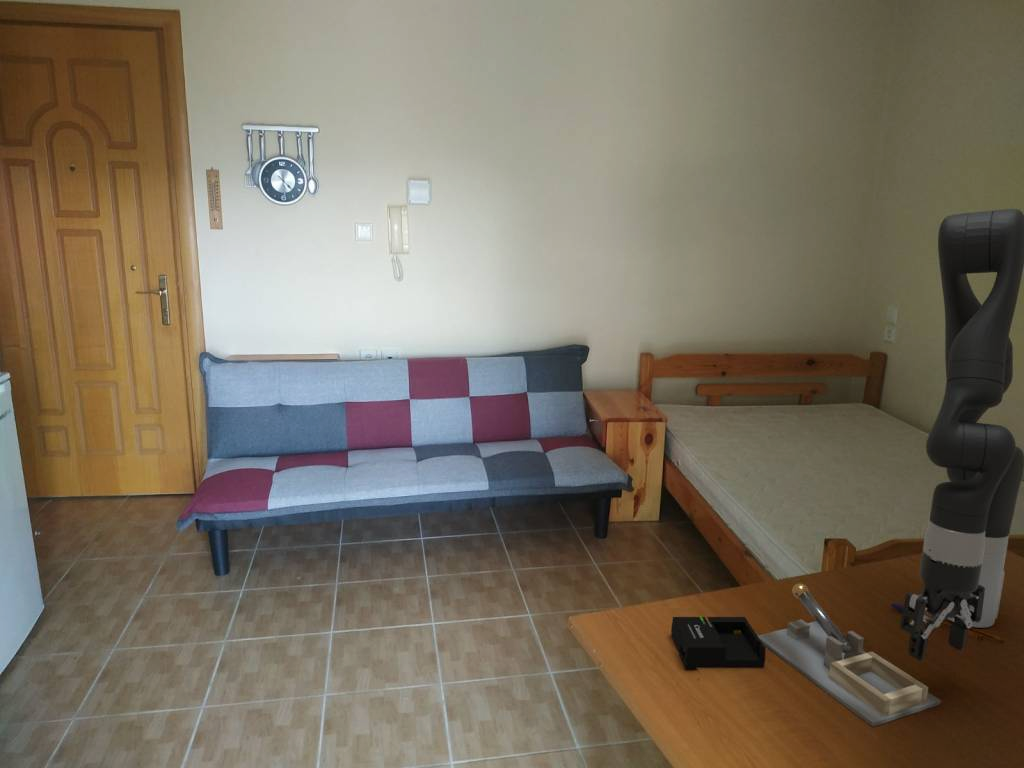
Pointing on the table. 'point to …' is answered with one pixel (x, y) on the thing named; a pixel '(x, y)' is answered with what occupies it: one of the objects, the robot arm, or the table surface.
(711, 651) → the battery charger
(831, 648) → the grey mounting base
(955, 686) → the table surface
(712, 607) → the table surface
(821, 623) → the metal lever
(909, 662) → the table surface
